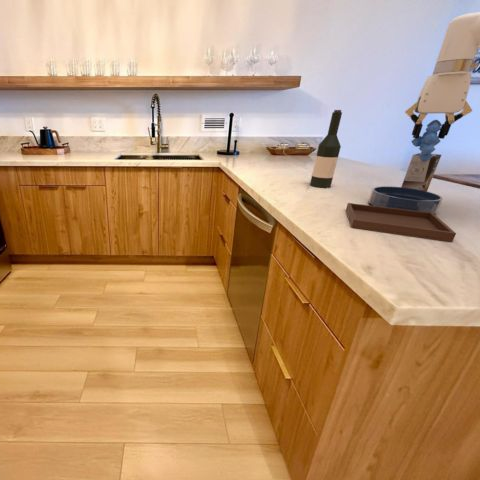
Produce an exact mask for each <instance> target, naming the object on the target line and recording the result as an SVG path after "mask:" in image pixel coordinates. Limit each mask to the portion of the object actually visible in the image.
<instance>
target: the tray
mask: <svg viewBox="0 0 480 480" xmlns="http://www.w3.org/2000/svg"><path fill="white" fill-rule="evenodd" d="M345 211H346V216H347V218H348V222H349V225H350V227H351V228H352V229H357V230H365V231H372V232H378V233H386V234H393V235H399V236H406V237H414V238H420V239H428V240H434V241H442V242H446V243H447V242H448V243H453V241H454V239H455V237H456V235H457V232H455V231H454V230H453V229H452V228H451V227H450V226H448V225H447V224H446V223H445V222H444V221H443V220H441V219H440V218H439V216H437V215H436V213H435V214H433V213H432V212H423V211H414V210H406V209H397V208H388V207H379V206H374V205H372V204H361V203H352V202H347V204H346V209H345Z"/></svg>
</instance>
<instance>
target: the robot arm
mask: <svg viewBox="0 0 480 480" xmlns="http://www.w3.org/2000/svg"><path fill="white" fill-rule="evenodd" d="M478 48H480V12H479V11H478V12H477V11H476V12H469V13H464V14H461V15H458V16H456V17H454V18H452V19H451V20H450V22H449V23H448V25H447V28H446V31H445V34H444V38H443V40H442V45H441V47H440V50H439V52H438V56H437V59H436V62H435V65H434V68H433V72H432V74H431V75H429V76H427V77H426V79H425V81H424V83H423V85H422V88H421V90H420V92H419V95H418V97H417V101H415V103H413V104H412V105H411V106H410V107H408V108H407V109H406V110H405V111H404V114H405V115H406V116H407V117H409V119H411V121H412V122H413V124H414V126H413V128H412V131H411V136H412V138H413V139H415V138H419V136H421V133H422V132H421V131H422V128H423V126H424V125H423V121H424V119H425V118H426V117H427V116H428V115H429V114H444V119H445V120H444V122H443V123H441V124H442V125H441V126H440V127H441V129H440V130H439V131H438V134H437V136H438V138H439V139H440V140H444V139H445V137H447V136H448V134H449V132H450V129H451V126H452V125H453V124H455V122H457V121H459V120H460V119H462V118H463V117H465V116H466V115H469V114H470V113H472V112H473V109H472V108H471V105H469V103H468V101H467V97H468V94H469V91H470V90H469V89H470V86H471V80H472V73H470V72H471V70H476V69H478V67H479V65H480V62H475V56H476V54H477V51H478ZM414 112H415V113H414ZM456 113H457V114H456ZM417 114H418V115H417Z"/></svg>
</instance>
